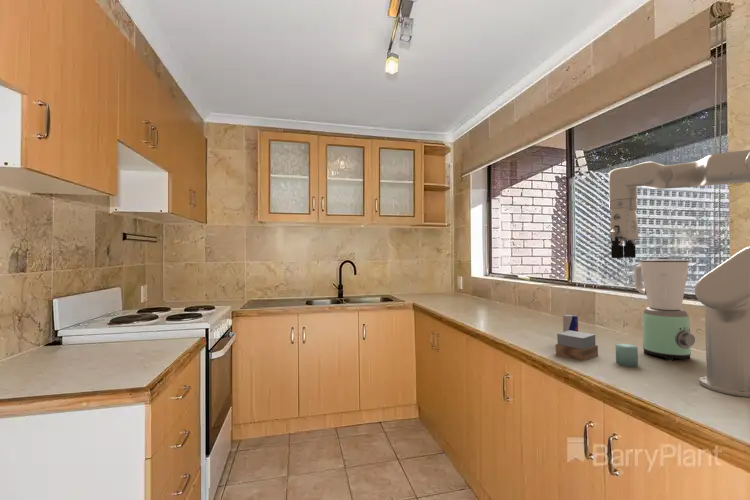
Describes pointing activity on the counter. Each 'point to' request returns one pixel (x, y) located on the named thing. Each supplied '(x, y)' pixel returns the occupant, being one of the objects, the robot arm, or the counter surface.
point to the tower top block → (576, 339)
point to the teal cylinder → (627, 355)
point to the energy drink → (570, 322)
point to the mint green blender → (664, 307)
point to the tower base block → (577, 352)
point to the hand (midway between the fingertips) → (623, 257)
